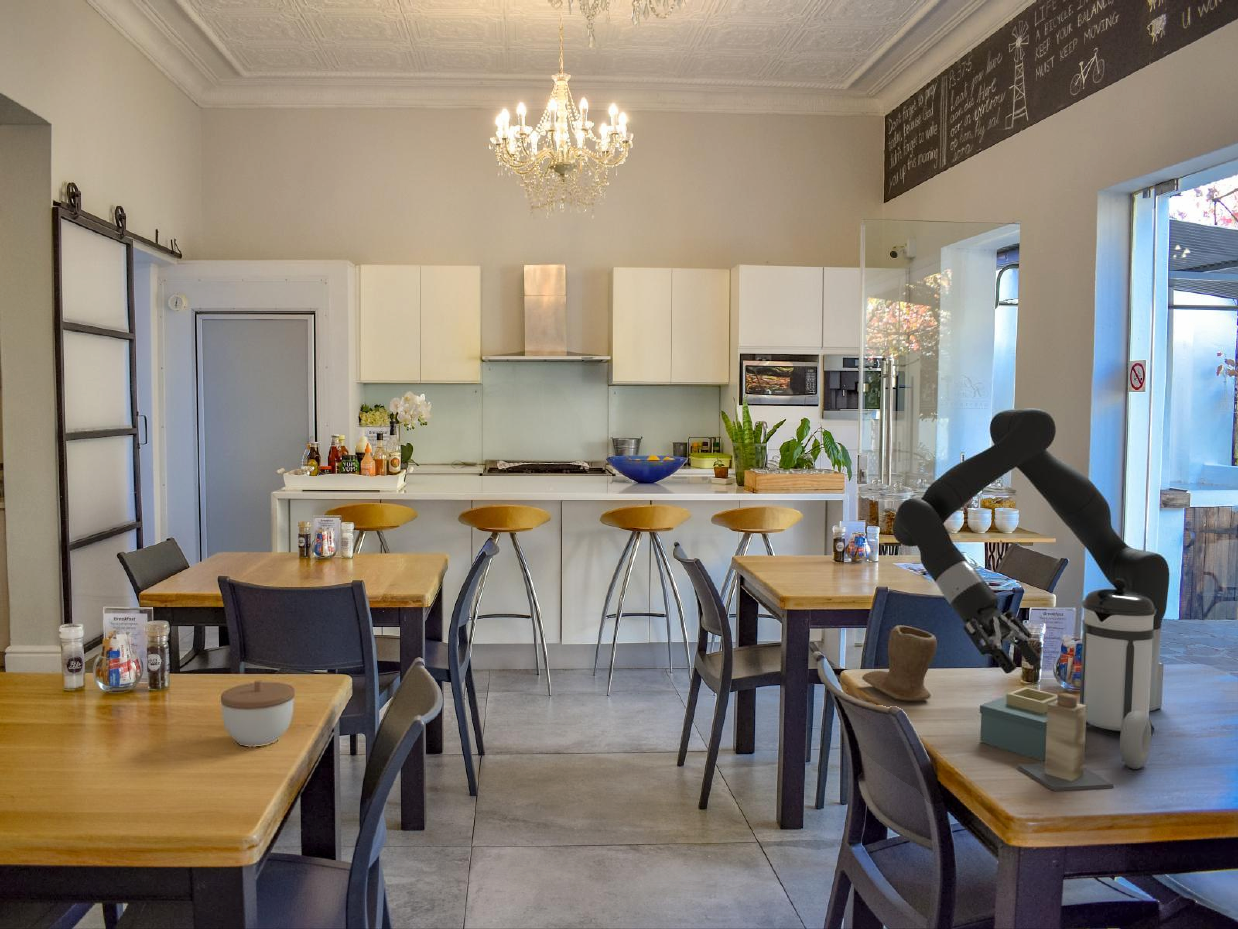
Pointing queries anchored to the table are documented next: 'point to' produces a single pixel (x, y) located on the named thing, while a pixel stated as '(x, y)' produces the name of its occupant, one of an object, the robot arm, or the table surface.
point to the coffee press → (1116, 655)
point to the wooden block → (1065, 737)
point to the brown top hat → (906, 664)
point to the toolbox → (1018, 722)
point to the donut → (1135, 739)
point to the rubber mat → (1058, 784)
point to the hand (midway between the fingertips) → (1024, 667)
